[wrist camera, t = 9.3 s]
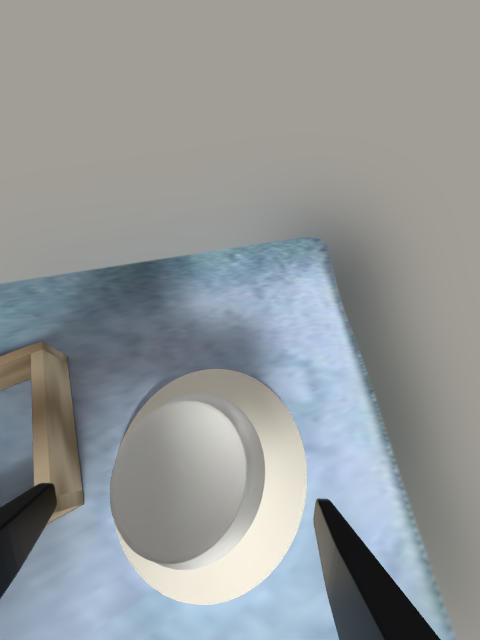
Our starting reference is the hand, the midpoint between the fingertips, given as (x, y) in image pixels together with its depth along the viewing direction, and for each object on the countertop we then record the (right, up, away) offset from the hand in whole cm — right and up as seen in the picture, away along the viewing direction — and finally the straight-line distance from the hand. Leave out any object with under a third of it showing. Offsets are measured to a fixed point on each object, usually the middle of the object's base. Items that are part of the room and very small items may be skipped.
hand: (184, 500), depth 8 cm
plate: (0, -4, +8) cm, 9 cm away
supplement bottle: (0, -4, +8) cm, 9 cm away
